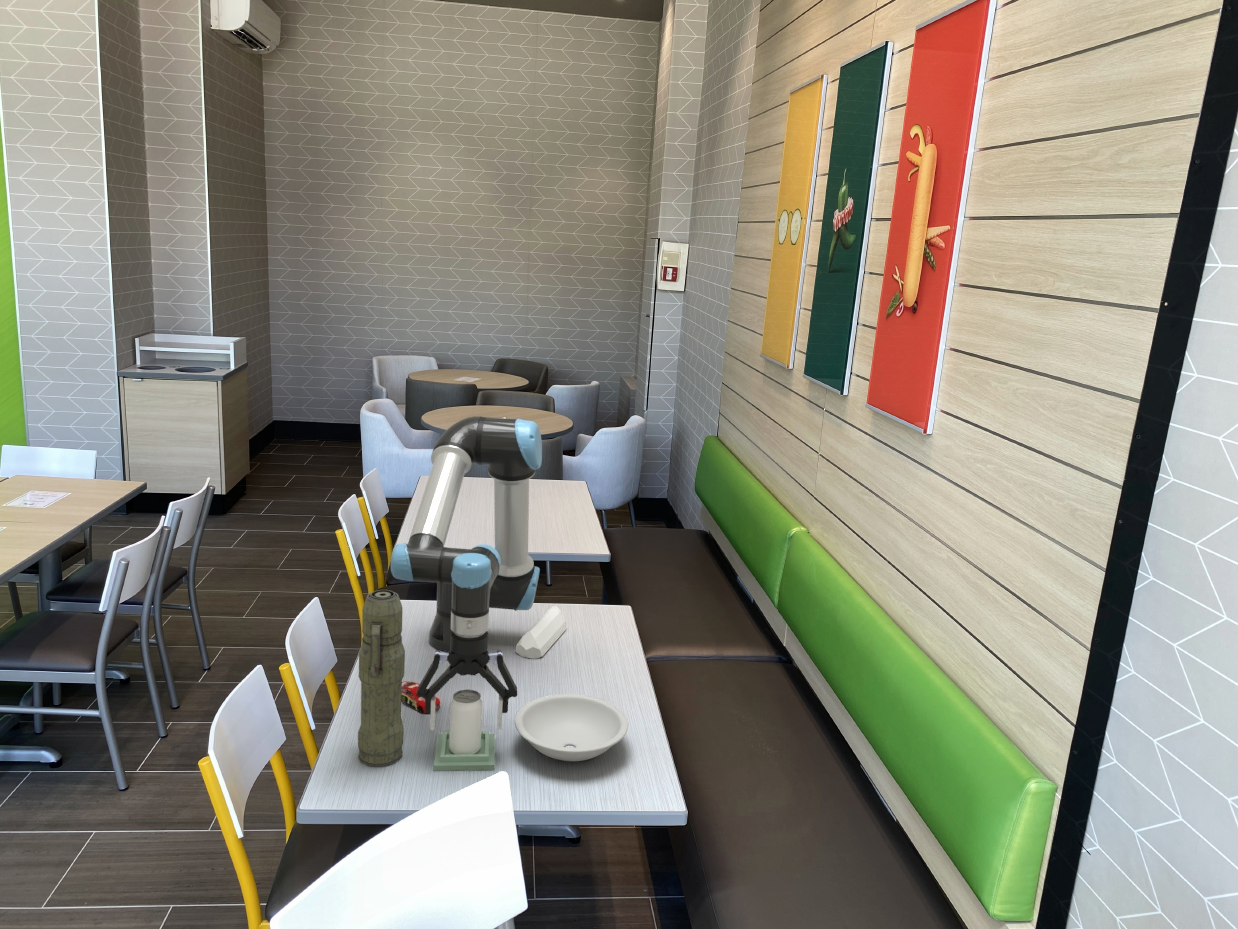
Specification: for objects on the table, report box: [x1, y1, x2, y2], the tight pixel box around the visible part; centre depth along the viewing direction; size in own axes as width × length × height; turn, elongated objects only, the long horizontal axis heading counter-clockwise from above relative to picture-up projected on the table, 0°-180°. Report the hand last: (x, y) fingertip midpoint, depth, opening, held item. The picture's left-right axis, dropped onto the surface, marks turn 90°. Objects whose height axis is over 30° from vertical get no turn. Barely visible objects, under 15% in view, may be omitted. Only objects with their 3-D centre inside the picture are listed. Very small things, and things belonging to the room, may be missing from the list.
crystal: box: [515, 605, 567, 659], centre depth 237 cm, size 7×7×24 cm
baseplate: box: [433, 731, 496, 772], centre depth 180 cm, size 12×12×2 cm
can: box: [449, 688, 483, 754], centre depth 179 cm, size 6×6×12 cm
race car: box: [401, 681, 442, 715], centre depth 200 cm, size 13×5×4 cm, turn 51°
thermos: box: [357, 589, 406, 768], centre depth 174 cm, size 9×12×35 cm
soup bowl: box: [514, 693, 629, 762], centre depth 185 cm, size 24×24×7 cm
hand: (466, 726), depth 180 cm, fingers open, 13 cm apart
